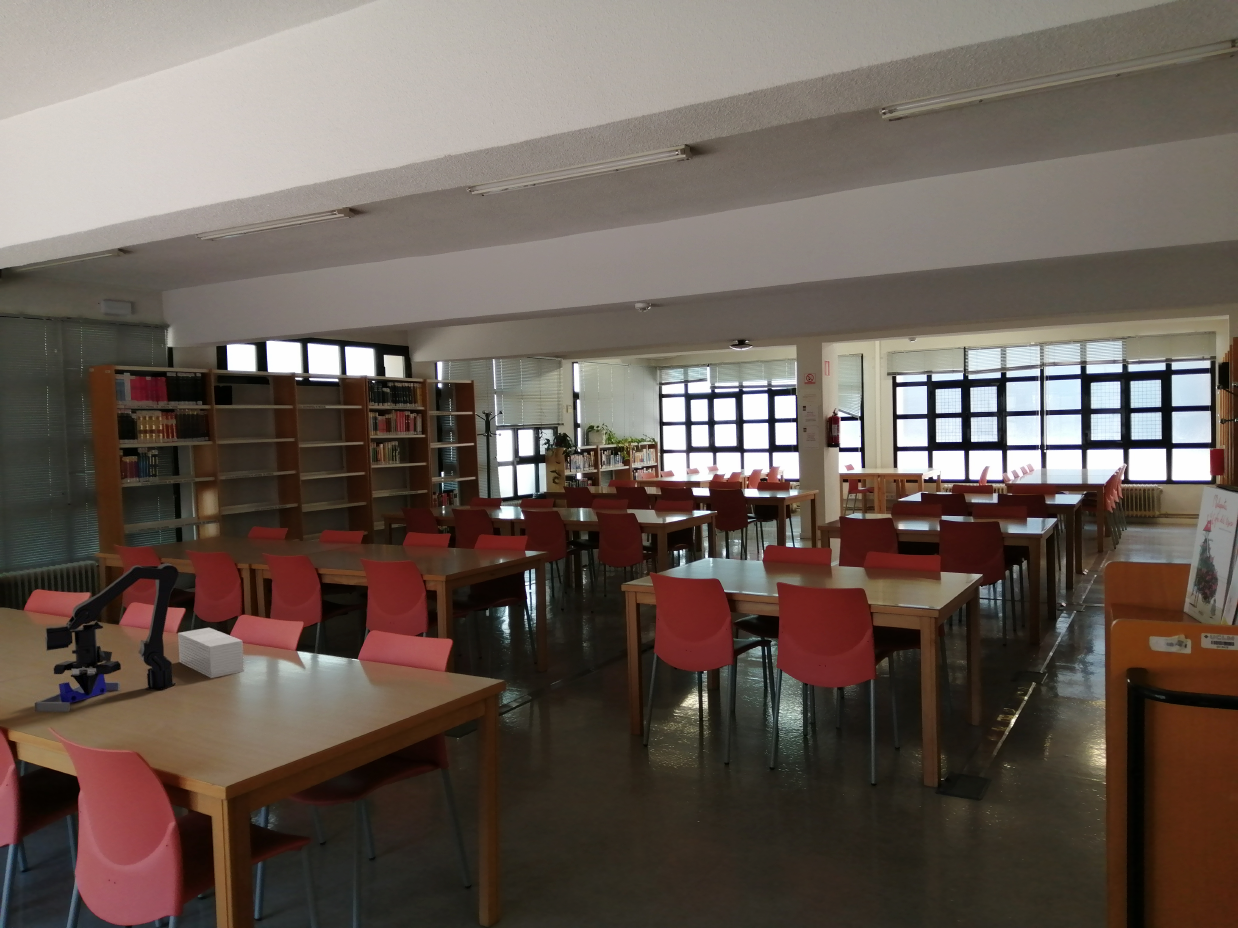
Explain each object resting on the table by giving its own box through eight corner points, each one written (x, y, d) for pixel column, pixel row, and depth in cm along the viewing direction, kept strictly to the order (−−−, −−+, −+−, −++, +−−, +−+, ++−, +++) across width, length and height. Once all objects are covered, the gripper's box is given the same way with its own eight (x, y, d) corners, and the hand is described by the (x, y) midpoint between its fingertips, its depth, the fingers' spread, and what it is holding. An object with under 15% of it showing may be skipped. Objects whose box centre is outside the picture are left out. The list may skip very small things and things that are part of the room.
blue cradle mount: (69, 702, 265) (66, 683, 265) (61, 703, 267) (58, 683, 267) (109, 691, 275) (106, 672, 275) (101, 692, 277) (98, 673, 278)
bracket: (120, 689, 279) (119, 681, 279) (67, 711, 258) (67, 703, 258) (89, 689, 281) (89, 681, 281) (35, 711, 259) (34, 702, 259)
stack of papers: (244, 671, 297) (242, 640, 297) (211, 678, 290) (209, 646, 289) (210, 656, 320) (209, 627, 320) (179, 662, 313) (177, 632, 313)
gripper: (131, 638, 275) (134, 687, 276) (78, 638, 278) (81, 687, 278) (106, 647, 264) (109, 698, 264) (50, 647, 267) (53, 697, 267)
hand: (88, 695), depth 269 cm, fingers closed
